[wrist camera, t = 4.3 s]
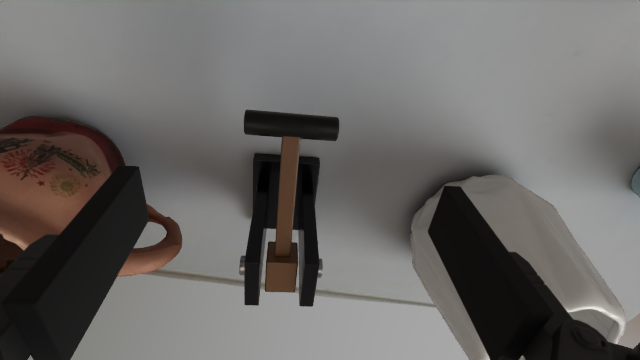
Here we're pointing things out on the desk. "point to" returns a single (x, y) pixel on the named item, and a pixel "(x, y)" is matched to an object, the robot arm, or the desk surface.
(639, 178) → the cup
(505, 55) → the desk surface
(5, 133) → the decorative planter
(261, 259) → the bracket
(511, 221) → the vase
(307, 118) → the lever
